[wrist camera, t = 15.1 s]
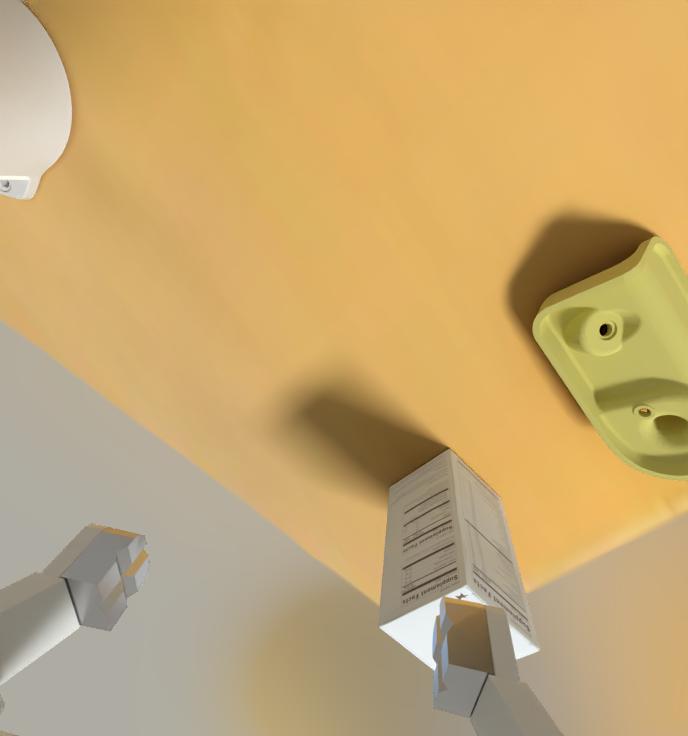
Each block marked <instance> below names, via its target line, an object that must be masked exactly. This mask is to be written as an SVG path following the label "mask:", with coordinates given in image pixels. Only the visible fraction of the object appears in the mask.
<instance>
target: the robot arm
mask: <svg viewBox="0 0 688 736" xmlns="http://www.w3.org/2000/svg"><path fill="white" fill-rule="evenodd" d="M71 122H72V102H71V94H70V88H69V83H68V79H67V76H66V72H65V69H64V66H63V64H62V61H61V59H60V56H59V54H58V52H57V50H56V48H55V46H54V44H53V42H52V40H51V38H50V37H49V35H48V33H47V32H46V30H45V29H44V27H43V26H42V24H41V23H40V22H39V21H38V19H37V18H36V17H35V16H34V14H33V13H32V12H31V11H30V10H29V9H28V8H27V7H26V6H25V5H24V4H23V3H22V2H21V1H20V0H0V194H3V195H6V196H9V197H12V198H15V199H23V200H29V199H31V198H32V197H33V196H34V195H35V193H36V190H37V187H38V184H39V181H40V178H41V176H42V174H43V173H44V172H45V171H46V170H47V169H48V168H49V167H50V166H52V165H53V164H54V163H55V162H56V161H57V160H58V158H59V157H60V156H61V154H62V152H63V151H64V149H65V147H66V144H67V141H68V138H69V134H70V130H71ZM8 182H9V184H8ZM145 545H146V539H145V536H144V535H140V534H136V533H132V532H127V531H123V530H119V529H114V528H110V527H106V526H101V525H96V524H90V525H88V526H86V527H85V528H84V529H83V530H82V531H81V532H80V533H79V534H78V535H77V536H76V537H75V538H74V539H73V540H72V541H71V542H70V543H69V544H68V545H67V546H66V548H65V549H64V550H63V551H62V552H61V553H60V554H59V555H58V556H57V557H56V558H55V559H54V560H53V561H52V562H51V563H50V564H49V565H48V566H47V567H46V568H45V569H44V570H43V572H42V573H37V572H36V573H33V574H31V575H30V576H27V577H25V578H23V579H21V580H20V581H17V582H15V583H14V584H11V585H10V586H7V587H5V588H4V589H2V590H0V685H1V684H3V683H4V682H6V681H7V680H8V679H10V678H11V677H12V676H14V675H15V674H17V673H18V672H19V671H20V670H22V669H23V668H25V667H26V666H28V665H29V664H30V663H32V662H33V661H34V660H36V659H37V658H39V657H40V656H41V655H43V654H44V653H45V652H47V651H48V650H50V649H51V648H52V647H53V646H55V645H56V644H58V643H59V642H60V641H62V640H63V639H64V638H66V637H67V636H69V635H70V634H72V633H73V632H74V631H76V630H77V629H78V628H80V625H82V626H87V627H92V628H97V629H102V630H106V631H111V630H112V629H113V627H114V626H115V624H116V623H117V621H118V620H119V618H120V617H121V615H122V614H123V613H124V611H125V610H126V608H127V598H128V597H129V596H131V595H133V594H134V593H136V592H138V590H139V589H140V587H141V585H142V584H143V583H144V581H145V579H146V576H147V573H148V571H149V564H150V560H149V555H148V554H147V553H146V552H145V551H144V550H143V548H144V547H145ZM439 607H440V615H438V616H436V620H435V624H434V630H433V642H432V657H433V659H434V661H435V663H436V664H437V665H436V669H435V672H434V676H433V695H434V709H438V710H441V711H445V712H449V713H453V714H457V715H460V716H464V717H467V718H471V719H470V722H471V724H472V726H473V727H474V730H475V732H476V734H477V736H564V735H563V733H562V732H561V731H560V729H559V728H558V726H557V725H556V724H555V722H554V721H553V719H552V718H551V716H550V715H549V714H548V712H547V711H546V709H545V708H544V707H543V705H542V704H541V702H540V701H539V700H538V698H537V697H536V695H535V694H534V693H533V691H532V690H531V688H530V687H529V686H528V684H527V683H525V682H521V681H520V678H519V673H518V668H517V663H516V658H515V653H514V648H513V643H512V637H511V632H510V627H509V622H508V617H507V613H506V612H505V610H504V609H503V608H498V607H493V606H487V605H482V604H481V603H476V602H470V601H465V600H460V599H455V598H449V597H444V596H443V597H442V599H441V602H440V605H439ZM4 706H5V703H4V701H3V699H2V697H1V695H0V715H1V714H2V712H3V711H4ZM0 736H18V735H14V734H11V733H7V732H3V731H0Z"/></svg>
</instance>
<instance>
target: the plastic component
mask: <svg viewBox="0 0 688 736" xmlns="http://www.w3.org/2000/svg"><path fill="white" fill-rule="evenodd" d="M603 324H606V325H607V327H608V330H607V333H606V334H605V335H604V336H602V335H600V332H599V329H600V327H601V325H603ZM532 330H533V335H534V338H535V340H536V341H537V343H538V344H539V346H540V347H541V349H542V350H543V352H544V353H545V355H546V356H547V358H548V359H549V361H550V362H551V364H552V365H553V367H554V368H555V370H556V371H557V373H558V374H559V376H560V377H561V379H562V380H563V382H564V383H565V385H566V386H567V388H568V389H569V391H570V392H571V394H572V395H573V397H574V398H575V400H576V401H577V403H578V404H579V406H580V407H581V409H582V410H583V412H584V413H585V415H586V416H587V417H588V419H589V420H590V422H591V423H592V425H593V426H594V428H595V429H596V431H597V432H598V434H599V435H600V436H601V438H602V439H603V441H604V442H605V443H606V444H607V446H608V447H609V448H610V449H611V450H612V452H613V453H614V454H615V455H616V456H617V457H618V458H619V459H621V460H622V461H623V462H624V463H626V464H627V465H629V466H630V467H632V468H634V469H635V470H638V471H640V472H642V473H645V474H648V475H650V476H654V477H658V478H662V479H668V480H678V481H688V277H687V275H686V274H685V272H684V270H683V268H682V267H681V265H680V263H679V261H678V260H677V258H676V256H675V254H674V253H673V251H672V249H671V248H670V246H669V245H668V244H667V243H666V242H665V241H664V240H663V239H662V238H660V237H652V238H650V239H648V240H646V241H644V242H642V243H641V244H640V245H639V247H638V248H637V250H636V252H635V253H634V254H633V255H631V256H630V257H629V258H627V259H626V260H624V261H623V262H621V263H619V264H617V265H615V266H613V267H611V268H609V269H606V270H604V271H602V272H600V273H598V274H595V275H593V276H591V277H589V278H587V279H584V280H582V281H580V282H578V283H575V284H573V285H571V286H569V287H567V288H564V289H562V290H560V291H558V292H556V293H553V294H552V295H550V296H549V297H547V298H546V299H545V301H544V302H543V303H542V305H541V307H540V309H539V311H538V313H537V316H536V318H535V320H534V322H533V327H532ZM642 408H645V409H647V412H642V411H640V410H639V409H642Z"/></svg>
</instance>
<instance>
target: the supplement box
mask: <svg viewBox="0 0 688 736" xmlns="http://www.w3.org/2000/svg"><path fill="white" fill-rule="evenodd" d="M443 596H444V597H449V598H455V599H460V600H465V601H470V602H476V603H481V604H482V605H487V606H493V607H498V608H503V609H504V610H505V612H506V613H507V617H508V622H509V627H510V632H511V637H512V643H513V648H514V653H515V658H516V659H519V658H522V657H524V656H527V655H530V654H532V653H535V652H537V651H539V650H540V647H539V644H538V640H537V636H536V632H535V628H534V624H533V621H532V617H531V613H530V609H529V605H528V601H527V597H526V593H525V589H524V586H523V582H522V579H521V575H520V572H519V568H518V564H517V559H516V554H515V550H514V546H513V542H512V538H511V534H510V530H509V527H508V523H507V519H506V515H505V511H504V507H503V503H502V499H501V498H500V497H499V496H498V495H497V494H496V493H495V492H494V491H493V490H492V489H491V488H490V487H489V486H488V485H487V484H486V483H485V482H484V481H483V480H482V479H481V478H480V477H479V476H478V475H477V474H476V473H475V472H473V471H472V470H471V469H470V468H469V467H468V466H467V465H466V464H465V463H464V462H463V461H462V460H461V459H460V458H459V457H458V456H457V455H456V454H455V453H454V452H453V451H452V450H450V449H448V450H446V451H444V452H443V453H441V454H440V455H438V456H437V457H435V458H434V459H432V460H431V461H429V462H428V463H426V464H424V465H423V466H421V467H420V468H418V469H417V470H415V471H414V472H412V473H411V474H409V475H408V476H406V477H405V478H403V479H402V480H400V481H398V482H397V483H395V484H394V485H392V486H391V487H390V490H389V502H388V515H387V527H386V539H385V551H384V564H383V575H382V587H381V599H380V611H379V623H378V626H379V627H380V628H381V629H382V630H383V631H385V632H386V633H387V634H388V635H390V636H391V637H392V638H394V639H395V640H396V641H397V642H399V643H400V644H401V645H403V646H404V647H405V648H406V649H408V650H409V651H410V652H411V653H413V654H414V655H415V656H417V657H418V658H419V659H420V660H422V661H423V662H424V663H425V664H427V665H428V666H429V667H430V668H432V669H433V670H434V671H435V669H436V665H437V664H436V663H435V661H434V659H433V657H432V642H433V630H434V624H435V620H436V616H438V615H440V607H439V605H440V602H441V599H442V597H443Z"/></svg>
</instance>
